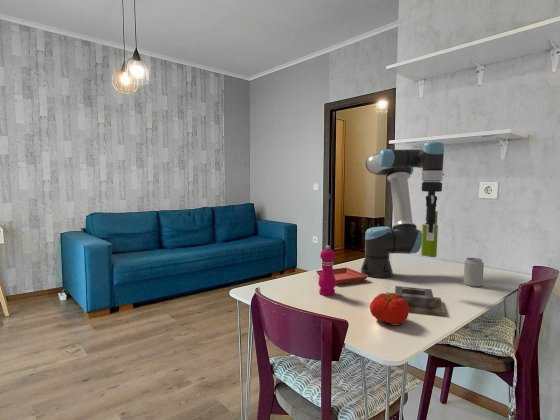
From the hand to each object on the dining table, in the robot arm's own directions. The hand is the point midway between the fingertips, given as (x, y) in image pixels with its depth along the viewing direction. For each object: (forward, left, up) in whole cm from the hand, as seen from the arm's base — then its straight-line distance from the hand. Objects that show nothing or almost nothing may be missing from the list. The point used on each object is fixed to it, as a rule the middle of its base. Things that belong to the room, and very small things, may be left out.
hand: (429, 239), depth 145 cm
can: (+20, +21, -23) cm, 37 cm away
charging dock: (-6, -16, -23) cm, 28 cm away
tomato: (-14, -35, -23) cm, 44 cm away
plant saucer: (-37, +11, -23) cm, 45 cm away
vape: (0, 0, -7) cm, 7 cm away
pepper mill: (-39, -13, -23) cm, 47 cm away
